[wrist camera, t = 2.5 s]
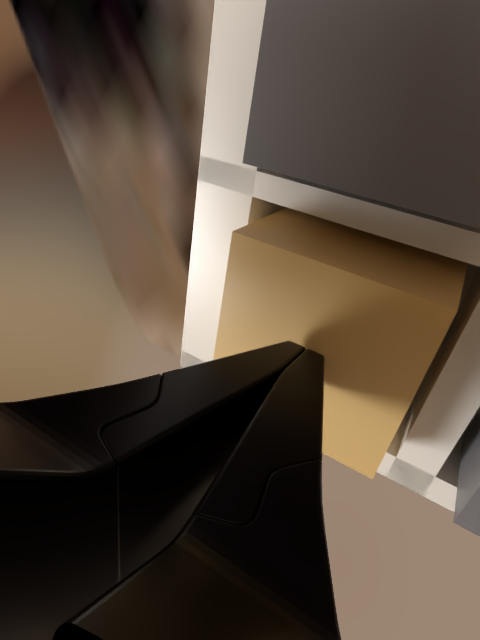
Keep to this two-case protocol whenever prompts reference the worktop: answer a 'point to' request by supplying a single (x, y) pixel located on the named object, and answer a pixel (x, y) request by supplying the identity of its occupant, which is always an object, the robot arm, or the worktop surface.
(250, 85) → the keypad
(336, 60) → the charcoal key near
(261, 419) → the robot arm
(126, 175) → the worktop surface
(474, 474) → the charcoal key far
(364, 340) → the ochre key
